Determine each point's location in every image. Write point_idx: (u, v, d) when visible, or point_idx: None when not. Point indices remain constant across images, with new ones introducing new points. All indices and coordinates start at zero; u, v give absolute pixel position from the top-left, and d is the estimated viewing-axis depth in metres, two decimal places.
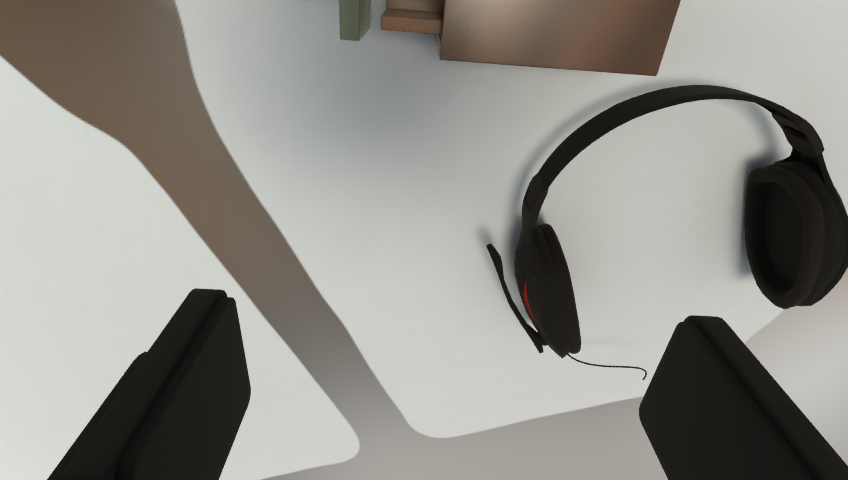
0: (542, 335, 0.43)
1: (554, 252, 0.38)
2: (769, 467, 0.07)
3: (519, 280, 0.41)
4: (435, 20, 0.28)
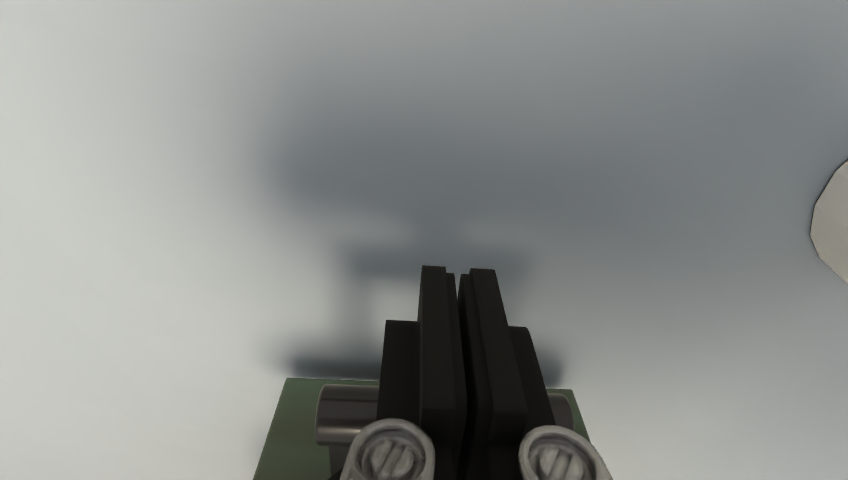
0: None
1: None
2: (471, 388, 0.08)
3: None
4: None
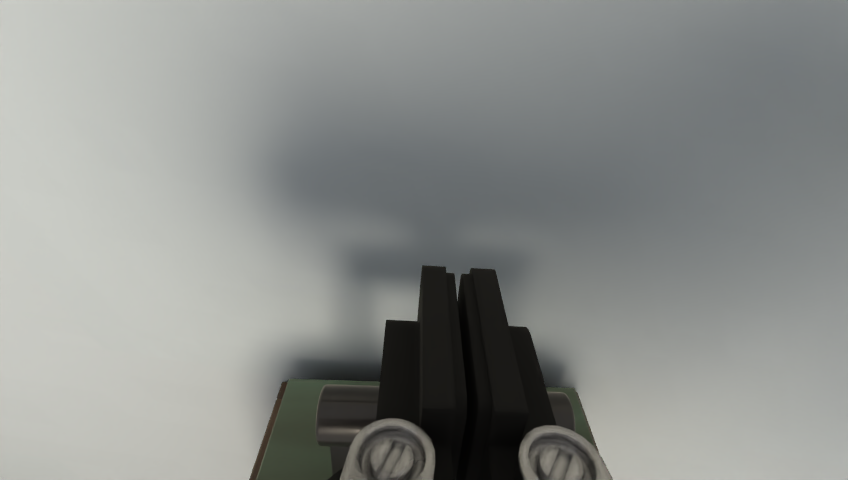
0: None
1: None
2: (471, 388, 0.08)
3: None
4: None
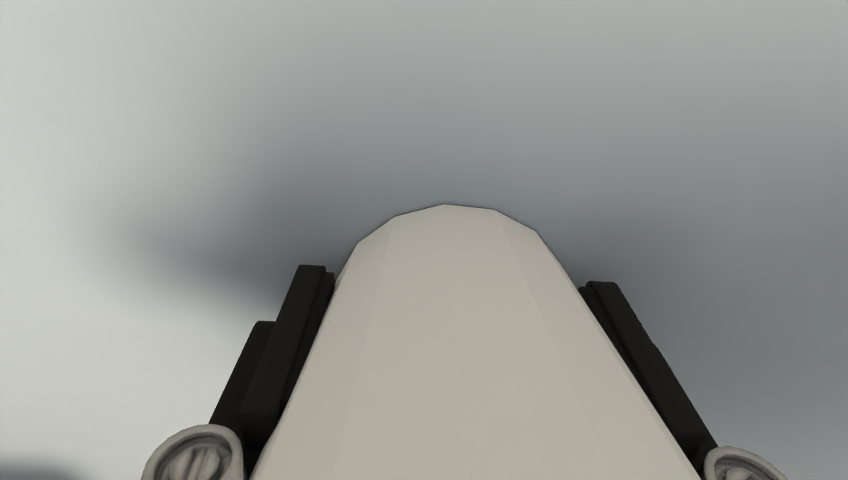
0: None
1: None
2: None
3: None
4: None
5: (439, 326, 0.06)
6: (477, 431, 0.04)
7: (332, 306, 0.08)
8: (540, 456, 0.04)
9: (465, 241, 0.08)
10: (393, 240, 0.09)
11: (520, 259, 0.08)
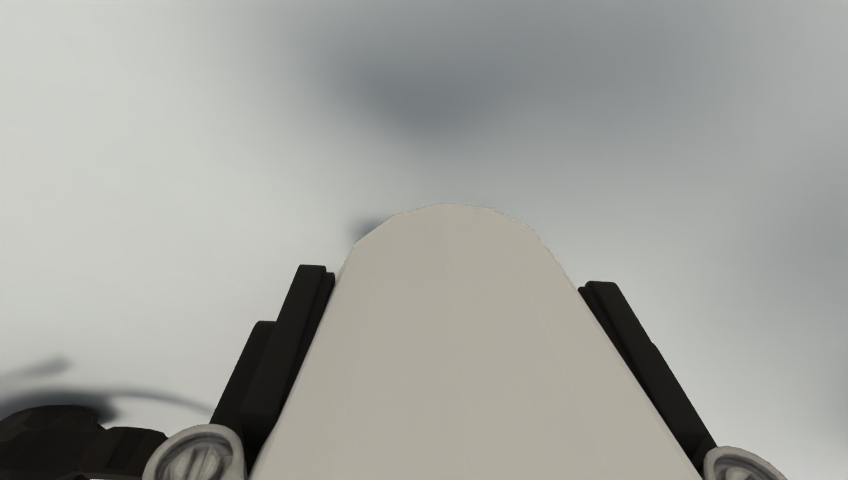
0: None
1: None
2: None
3: None
4: None
5: (438, 325, 0.06)
6: (477, 430, 0.04)
7: (330, 305, 0.08)
8: (541, 455, 0.04)
9: (464, 240, 0.08)
10: (391, 238, 0.09)
11: (520, 257, 0.08)
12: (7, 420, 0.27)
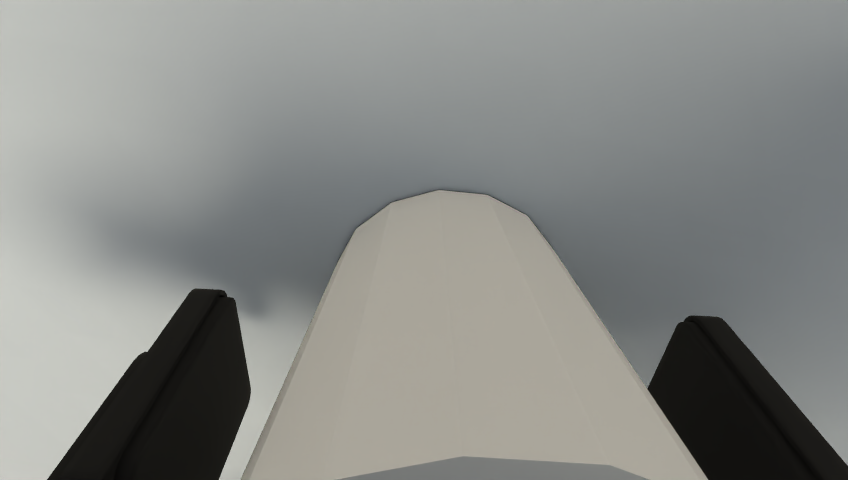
0: None
1: None
2: (769, 467, 0.07)
3: None
4: None
5: (433, 298, 0.06)
6: (468, 385, 0.05)
7: (332, 286, 0.09)
8: (527, 405, 0.05)
9: (459, 223, 0.09)
10: (390, 223, 0.09)
11: (512, 239, 0.08)
12: None
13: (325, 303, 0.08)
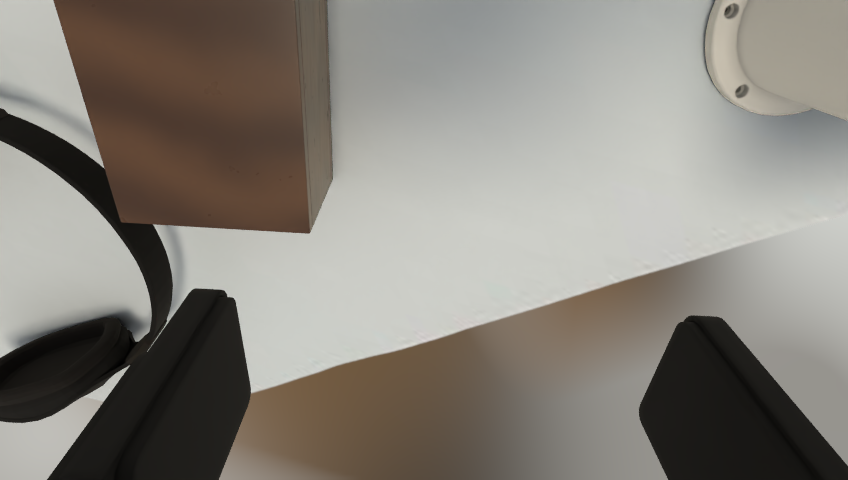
0: None
1: None
2: (769, 467, 0.07)
3: None
4: None
5: None
6: None
7: None
8: None
9: None
10: None
11: None
12: None
13: None
